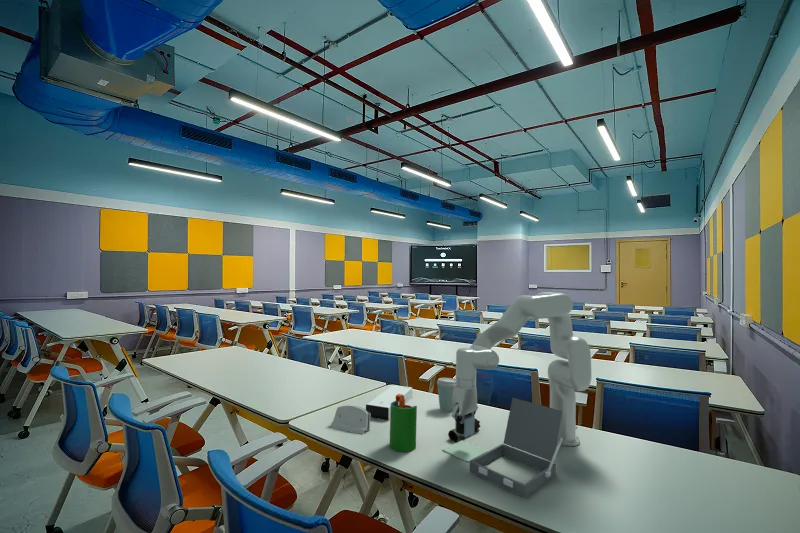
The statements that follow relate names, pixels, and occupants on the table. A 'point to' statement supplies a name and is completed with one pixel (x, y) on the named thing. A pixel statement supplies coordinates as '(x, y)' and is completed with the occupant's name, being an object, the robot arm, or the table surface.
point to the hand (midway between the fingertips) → (464, 430)
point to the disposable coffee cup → (446, 393)
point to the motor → (402, 425)
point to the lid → (533, 428)
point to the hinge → (352, 419)
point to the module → (467, 425)
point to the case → (520, 456)
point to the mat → (464, 451)
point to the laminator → (387, 401)
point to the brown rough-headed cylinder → (457, 437)
